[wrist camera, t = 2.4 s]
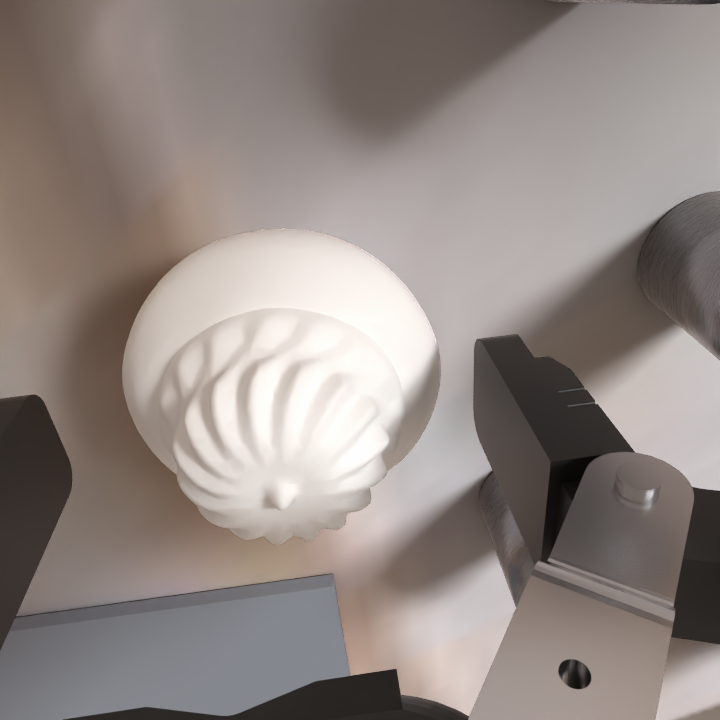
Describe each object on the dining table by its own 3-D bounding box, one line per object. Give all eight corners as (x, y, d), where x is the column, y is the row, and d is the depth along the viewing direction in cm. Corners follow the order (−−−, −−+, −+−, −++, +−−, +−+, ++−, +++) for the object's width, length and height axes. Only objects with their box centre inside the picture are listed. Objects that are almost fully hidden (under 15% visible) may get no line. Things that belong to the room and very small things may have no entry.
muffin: (184, 414, 16) (120, 655, 10) (131, 188, 13) (-3, 347, 7) (410, 396, 17) (474, 617, 11) (412, 171, 14) (505, 309, 8)
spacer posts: (981, -571, 9) (1625, -1101, 5) (691, 506, 20) (798, 643, 16) (-768, -438, 8) (-1986, -938, 4) (-47, 607, 19) (-144, 781, 15)
